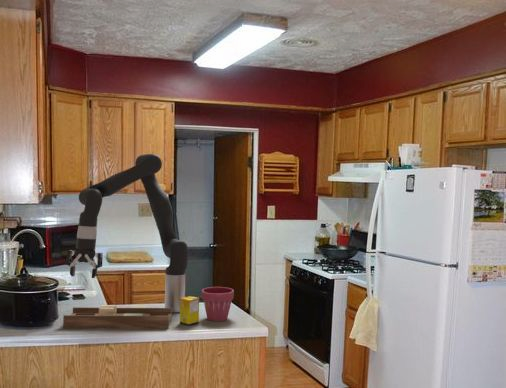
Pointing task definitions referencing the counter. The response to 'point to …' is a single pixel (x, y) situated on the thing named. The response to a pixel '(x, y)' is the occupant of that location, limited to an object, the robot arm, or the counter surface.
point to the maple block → (107, 310)
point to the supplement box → (189, 310)
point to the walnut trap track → (119, 318)
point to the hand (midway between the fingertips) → (82, 277)
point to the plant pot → (217, 302)
